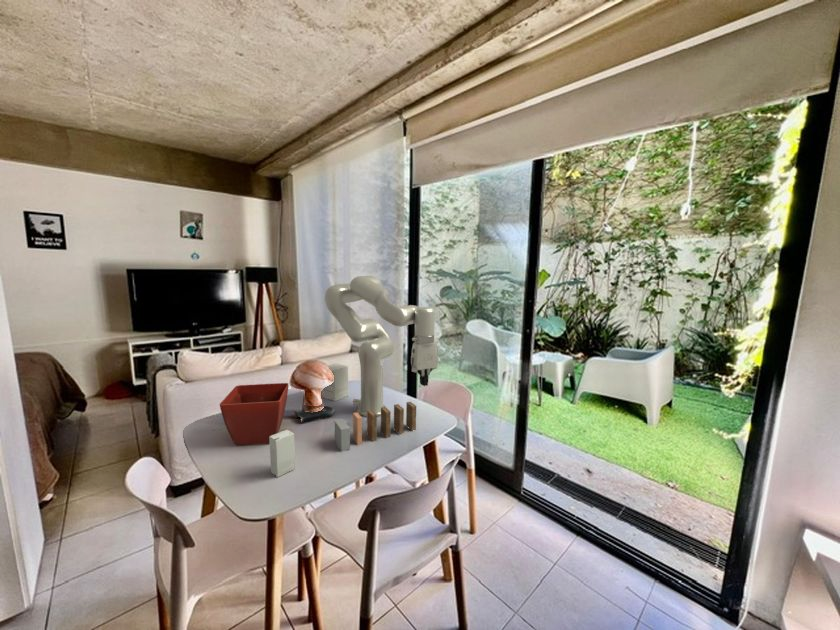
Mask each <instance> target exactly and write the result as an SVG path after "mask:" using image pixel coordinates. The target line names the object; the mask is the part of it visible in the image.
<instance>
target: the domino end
mask: <svg viewBox="0 0 840 630" xmlns="http://www.w3.org/2000/svg"><path fill="white" fill-rule="evenodd" d="M352 433H353V434H352V438H353V441H354V442H355V443H356V445H357V446H360V445H362V444H363V417H362V415H360V414H359V413H358V412H357V411H356V412H353V413H352Z"/></svg>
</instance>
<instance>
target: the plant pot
mask: <svg viewBox="0 0 840 630" xmlns="http://www.w3.org/2000/svg"><path fill="white" fill-rule="evenodd" d="M288 392H289V383H288V382H281V383H280V382H279V383H276V382H275V383H257V384H241V385H240V384H239V385H235V387H233V389H231V391H230V392H229V393H228V394H227V395H226V396H225V398H224V399H223V400H221V402H220V403H219V407H220V408H219V409H220V412H221V415H222V418H223V419H222V420H223V422H224V425H225V427H226V430H227V432H228V434H229V436H230V439H232V441H233V443H234V445H235V446H236V445H237V446H236V447H238V446H239V445H240V446H249V445H261V444H263V445H264V443H265V444H270V442H269V436H272V435H274V434H277V433H279V431H280V428H281V426H282V422H283V419H284V415H285V410H286V404H287V399H288Z"/></svg>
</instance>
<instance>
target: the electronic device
mask: <svg viewBox="0 0 840 630" xmlns="http://www.w3.org/2000/svg"><path fill="white" fill-rule="evenodd" d="M323 406H324V408H323V409H322V410H321V411H318V412H313V413H310V412H305V411H304V410H301V411H295V410H294V417H295V418H297V417H300V418H302V422H301V420H300V421H299V422H301V424H304V423H310V422H312V421H316V420H323V419H329V418H330V417H333V415H334V414H335V410H334V409H333V407H332V406H326V405H323Z"/></svg>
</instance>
